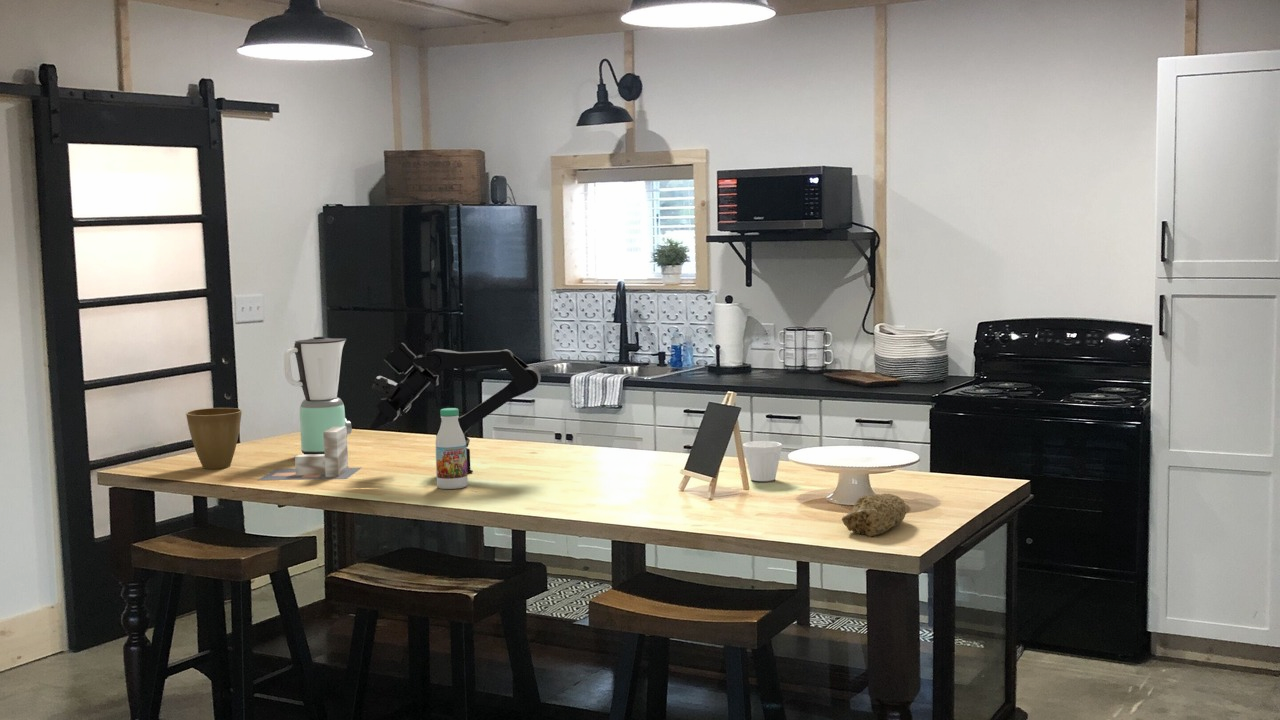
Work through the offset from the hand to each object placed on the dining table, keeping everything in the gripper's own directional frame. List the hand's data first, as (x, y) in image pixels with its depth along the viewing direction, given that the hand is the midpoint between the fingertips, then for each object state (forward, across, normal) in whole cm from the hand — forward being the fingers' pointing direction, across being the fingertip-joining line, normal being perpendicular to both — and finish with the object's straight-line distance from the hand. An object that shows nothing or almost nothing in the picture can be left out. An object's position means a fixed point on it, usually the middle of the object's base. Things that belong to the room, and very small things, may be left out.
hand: (373, 427), depth 340 cm
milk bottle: (-8, +20, +26) cm, 34 cm away
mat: (+21, 0, -4) cm, 22 cm away
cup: (-64, +18, +82) cm, 106 cm away
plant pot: (+44, -16, -26) cm, 53 cm away
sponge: (-78, +70, +97) cm, 143 cm away
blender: (+26, -31, -8) cm, 41 cm away
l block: (+19, 0, -2) cm, 19 cm away
